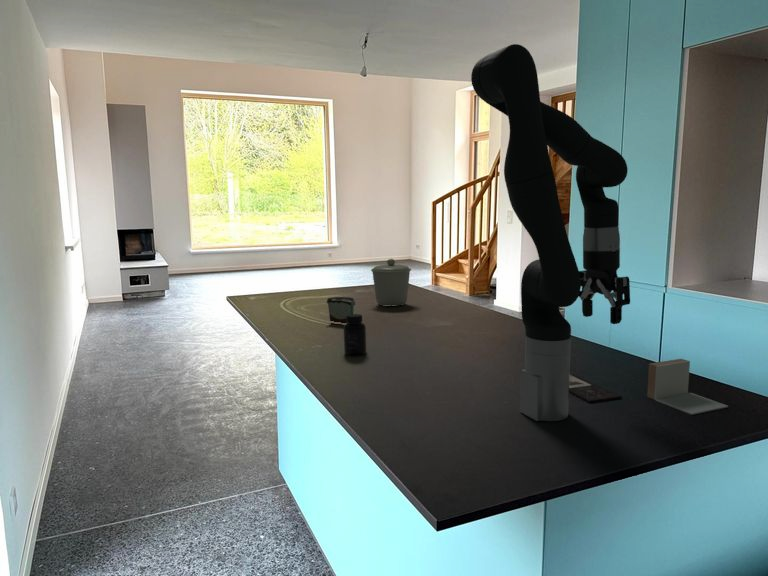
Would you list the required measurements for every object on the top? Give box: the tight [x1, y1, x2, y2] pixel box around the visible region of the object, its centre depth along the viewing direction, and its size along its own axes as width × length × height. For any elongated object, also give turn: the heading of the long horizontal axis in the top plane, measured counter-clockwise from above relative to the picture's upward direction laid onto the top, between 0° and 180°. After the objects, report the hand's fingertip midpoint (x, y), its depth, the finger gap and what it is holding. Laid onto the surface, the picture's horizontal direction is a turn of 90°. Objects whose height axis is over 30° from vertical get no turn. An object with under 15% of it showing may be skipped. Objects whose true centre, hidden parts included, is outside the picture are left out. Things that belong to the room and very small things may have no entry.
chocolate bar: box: [569, 373, 623, 404], centre depth 135 cm, size 9×1×18 cm
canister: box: [370, 258, 412, 306], centre depth 249 cm, size 18×18×21 cm
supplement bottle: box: [343, 313, 367, 357], centre depth 169 cm, size 7×7×12 cm
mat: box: [655, 392, 729, 416], centre depth 123 cm, size 11×9×1 cm
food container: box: [326, 296, 356, 323], centre depth 213 cm, size 12×6×10 cm, turn 58°
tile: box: [646, 358, 691, 400], centre depth 128 cm, size 10×2×8 cm, turn 111°
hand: (601, 319), depth 123 cm, fingers open, 8 cm apart
